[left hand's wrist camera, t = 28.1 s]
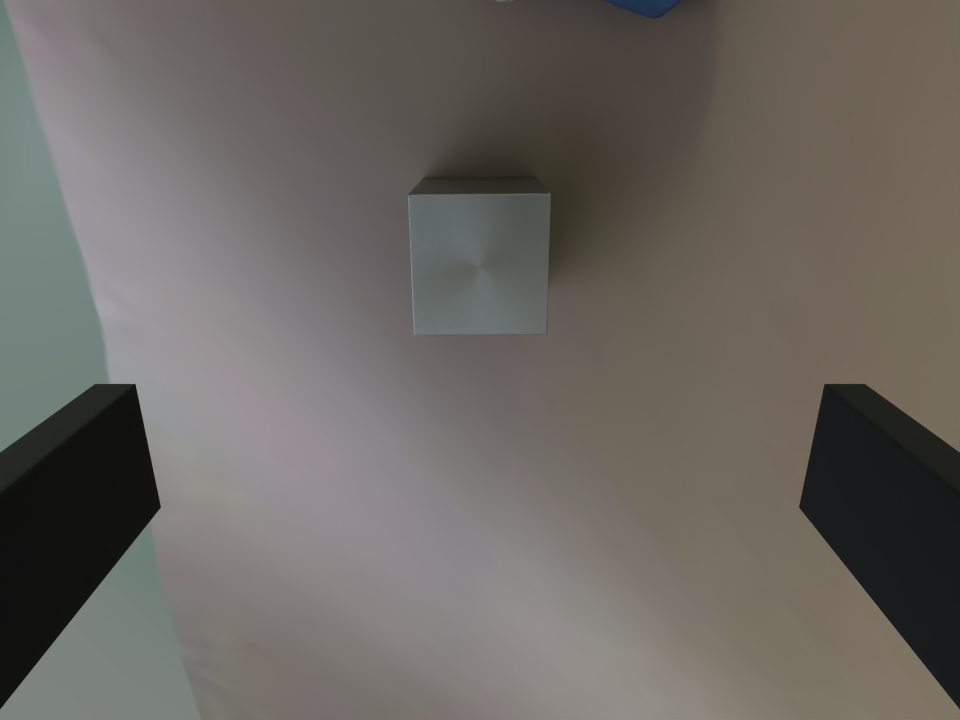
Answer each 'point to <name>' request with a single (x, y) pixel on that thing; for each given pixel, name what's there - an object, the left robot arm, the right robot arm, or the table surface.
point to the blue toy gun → (641, 6)
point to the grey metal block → (479, 256)
